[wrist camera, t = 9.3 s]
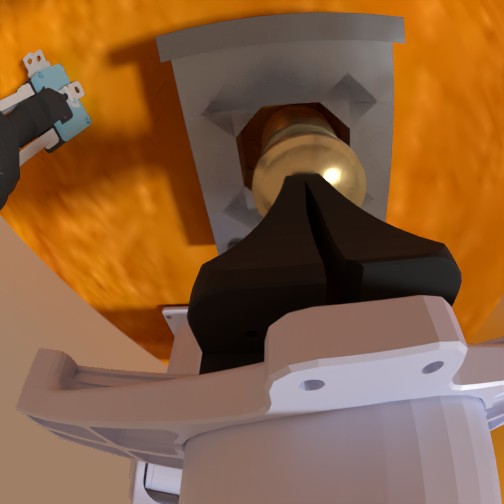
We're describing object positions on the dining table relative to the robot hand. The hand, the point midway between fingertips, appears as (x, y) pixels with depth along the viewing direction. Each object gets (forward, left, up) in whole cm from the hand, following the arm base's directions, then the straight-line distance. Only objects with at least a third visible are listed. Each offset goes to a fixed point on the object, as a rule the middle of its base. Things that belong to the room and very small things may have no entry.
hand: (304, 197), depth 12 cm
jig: (0, 0, -6) cm, 6 cm away
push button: (+6, +13, -7) cm, 16 cm away
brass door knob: (0, 0, -6) cm, 7 cm away
